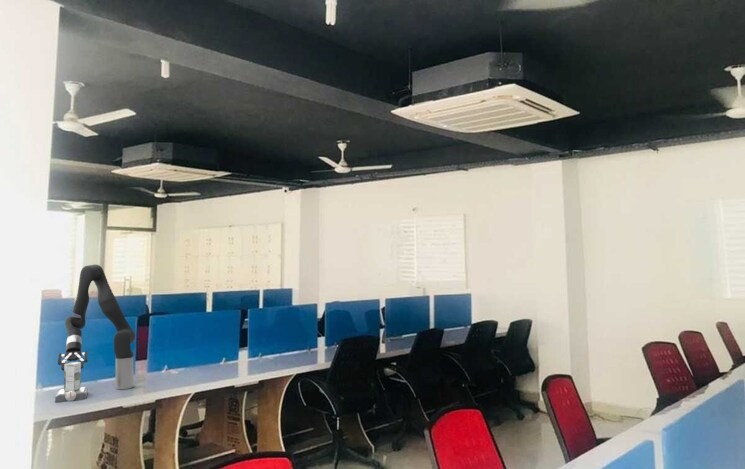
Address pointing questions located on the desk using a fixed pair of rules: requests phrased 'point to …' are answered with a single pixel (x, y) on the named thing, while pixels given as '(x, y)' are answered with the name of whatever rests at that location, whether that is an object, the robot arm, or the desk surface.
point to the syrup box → (72, 376)
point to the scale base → (71, 396)
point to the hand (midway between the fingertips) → (72, 369)
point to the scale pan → (74, 391)
